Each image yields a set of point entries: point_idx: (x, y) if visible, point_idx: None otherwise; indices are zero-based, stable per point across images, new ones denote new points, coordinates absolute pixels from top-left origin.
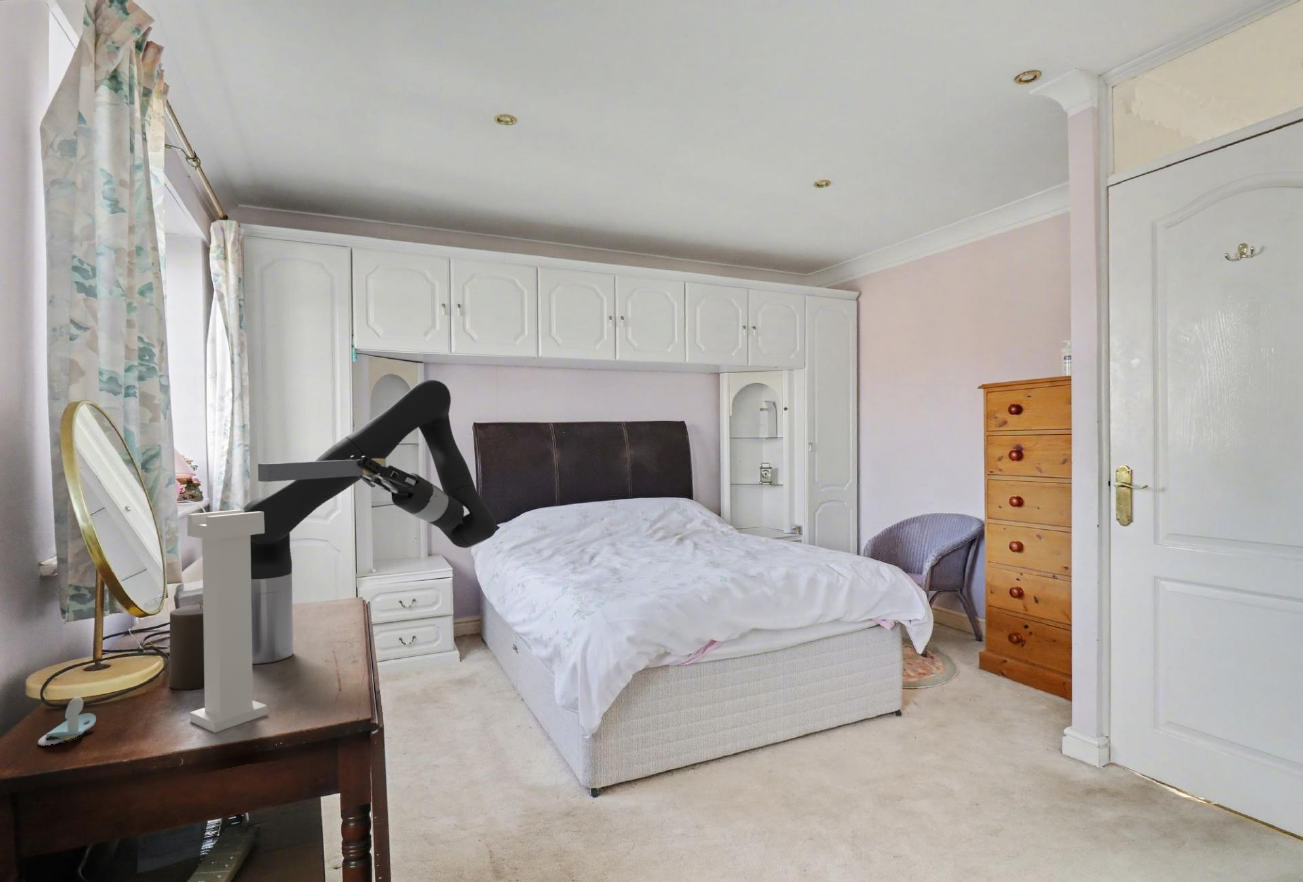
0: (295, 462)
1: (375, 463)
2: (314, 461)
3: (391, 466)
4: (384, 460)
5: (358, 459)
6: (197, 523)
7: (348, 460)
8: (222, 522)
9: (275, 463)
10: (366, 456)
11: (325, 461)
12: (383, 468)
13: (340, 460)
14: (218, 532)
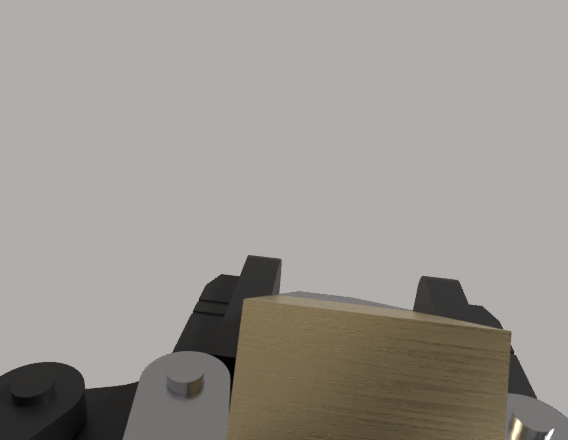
0: (326, 295)
1: (186, 329)
2: (351, 299)
3: (12, 375)
4: (241, 324)
5: (410, 311)
6: None
7: (283, 293)
8: None
9: (314, 293)
10: (248, 260)
11: (291, 292)
12: (125, 403)
13: (343, 300)
14: None
